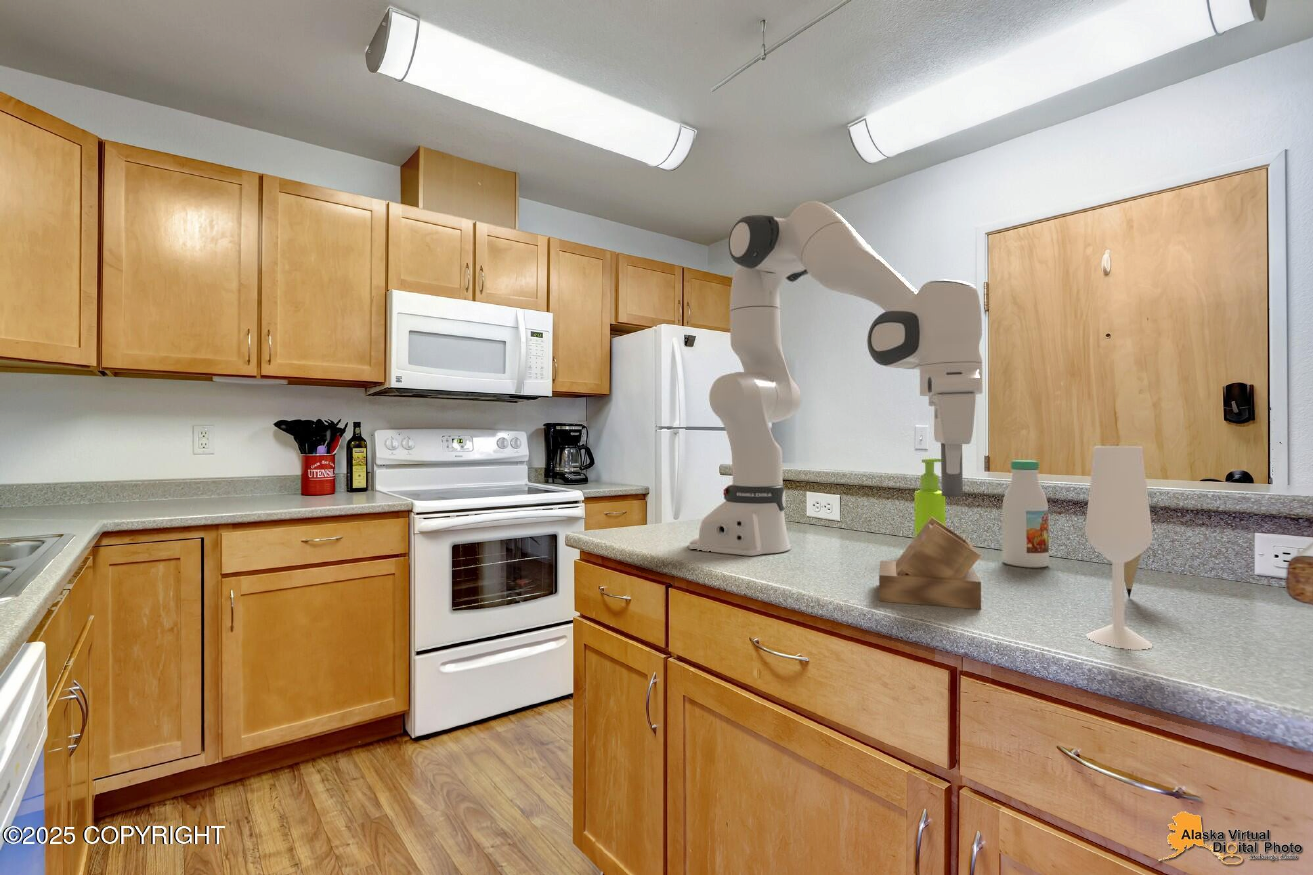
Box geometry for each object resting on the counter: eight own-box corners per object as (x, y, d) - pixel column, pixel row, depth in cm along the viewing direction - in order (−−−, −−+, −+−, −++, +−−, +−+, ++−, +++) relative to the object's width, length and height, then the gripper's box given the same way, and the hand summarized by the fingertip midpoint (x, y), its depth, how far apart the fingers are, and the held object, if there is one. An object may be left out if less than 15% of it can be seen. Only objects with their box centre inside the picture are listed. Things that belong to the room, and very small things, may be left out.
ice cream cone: (1097, 595, 97) (1097, 499, 97) (1121, 591, 99) (1121, 497, 99) (1136, 604, 92) (1136, 503, 92) (1161, 600, 94) (1161, 501, 94)
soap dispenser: (954, 557, 127) (953, 459, 126) (918, 556, 128) (917, 459, 128) (946, 552, 132) (946, 458, 132) (912, 551, 134) (911, 458, 133)
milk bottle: (1009, 567, 117) (1008, 461, 117) (997, 559, 125) (996, 459, 124) (1055, 569, 115) (1055, 461, 115) (1040, 560, 123) (1039, 459, 122)
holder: (879, 601, 96) (878, 523, 96) (880, 584, 106) (879, 513, 106) (982, 609, 91) (981, 527, 91) (972, 590, 101) (972, 517, 101)
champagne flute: (1093, 628, 82) (1093, 445, 81) (1158, 640, 77) (1158, 446, 76) (1078, 640, 77) (1077, 447, 77) (1146, 654, 72) (1145, 447, 72)
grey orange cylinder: (941, 496, 96) (941, 431, 96) (940, 494, 99) (939, 431, 99) (964, 497, 95) (963, 431, 95) (962, 494, 98) (961, 431, 98)
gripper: (924, 388, 108) (925, 468, 108) (932, 380, 88) (933, 477, 89) (965, 387, 105) (966, 468, 106) (982, 378, 86) (983, 477, 86)
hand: (951, 472), depth 97 cm, fingers closed on grey orange cylinder, 3 cm apart
